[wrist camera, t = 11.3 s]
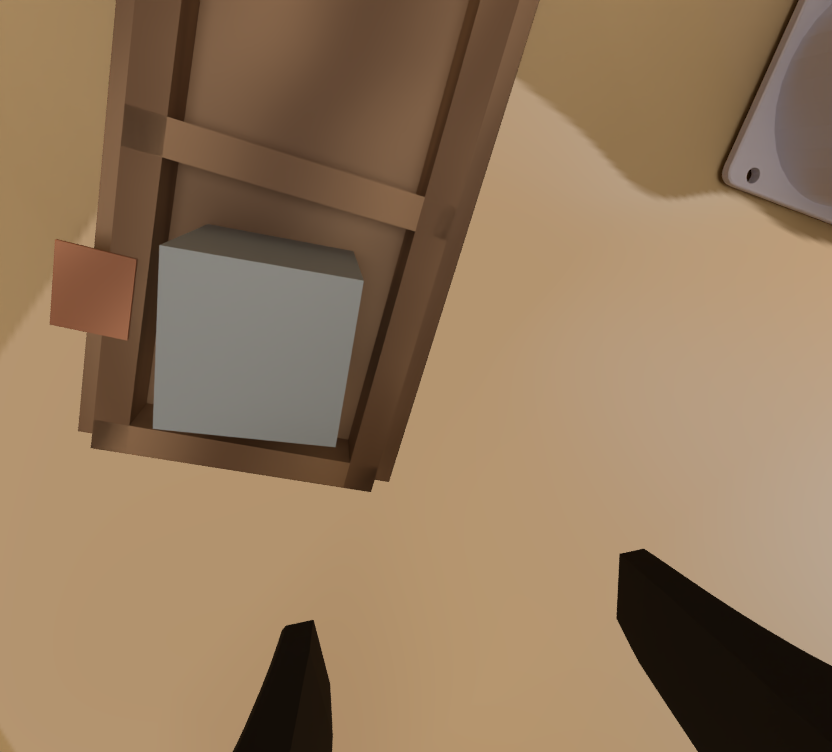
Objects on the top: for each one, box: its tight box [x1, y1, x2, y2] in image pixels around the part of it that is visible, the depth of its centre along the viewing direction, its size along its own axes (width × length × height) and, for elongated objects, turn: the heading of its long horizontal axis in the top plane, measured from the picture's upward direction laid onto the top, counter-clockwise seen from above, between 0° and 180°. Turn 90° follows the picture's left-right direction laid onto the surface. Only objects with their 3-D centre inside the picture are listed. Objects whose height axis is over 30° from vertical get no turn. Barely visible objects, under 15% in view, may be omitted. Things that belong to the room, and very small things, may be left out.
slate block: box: [153, 224, 364, 447], centre depth 15 cm, size 4×4×5 cm
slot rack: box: [50, 0, 539, 492], centre depth 15 cm, size 11×20×3 cm, turn 163°
